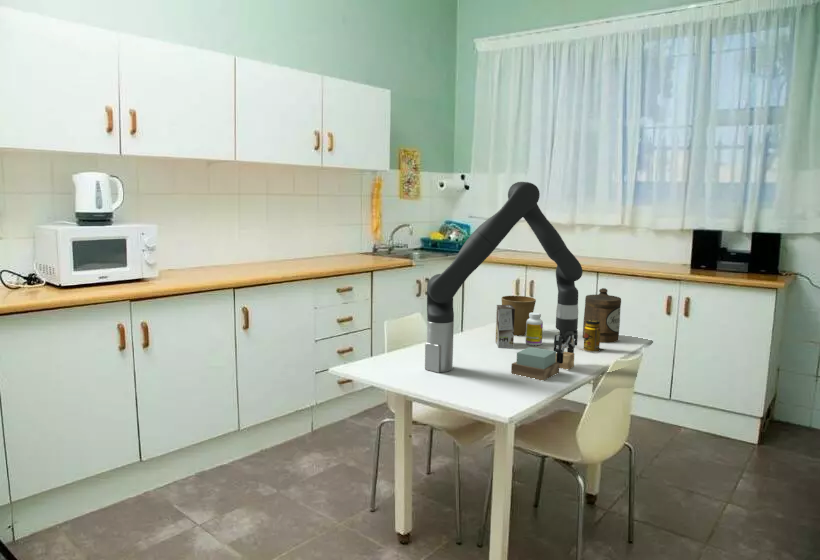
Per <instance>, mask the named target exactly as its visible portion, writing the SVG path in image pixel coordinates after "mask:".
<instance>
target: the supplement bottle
mask: <svg viewBox="0 0 820 560" xmlns="http://www.w3.org/2000/svg"><path fill="white" fill-rule="evenodd" d="M541 316H542V313H541V312H534V311H533V312H532V313H529V317H530V318H529V319H528V320H527V322H526V333H525V343H526V345H529V346H534V345H535V346H537V345H538V346H541V345H542V344H543V329H544V327H543V326H544V324H543V323H544V322H543V320H542V319H541Z"/></svg>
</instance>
